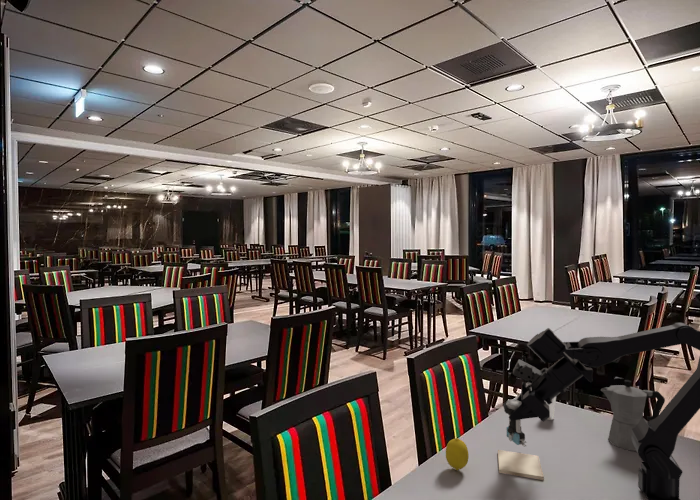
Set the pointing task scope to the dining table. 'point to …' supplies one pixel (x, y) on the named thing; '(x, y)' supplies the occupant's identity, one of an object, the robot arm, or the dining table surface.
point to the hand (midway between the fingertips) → (510, 414)
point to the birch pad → (520, 464)
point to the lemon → (457, 453)
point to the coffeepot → (628, 411)
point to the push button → (514, 423)
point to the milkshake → (552, 409)
